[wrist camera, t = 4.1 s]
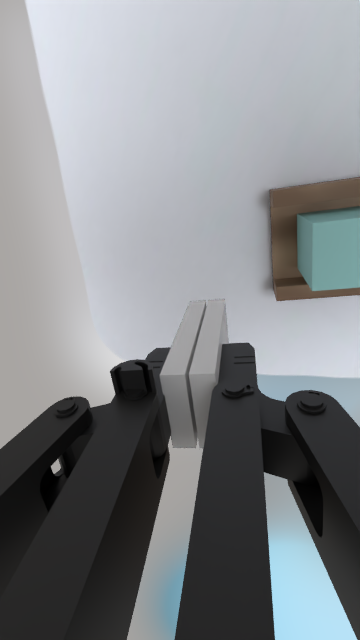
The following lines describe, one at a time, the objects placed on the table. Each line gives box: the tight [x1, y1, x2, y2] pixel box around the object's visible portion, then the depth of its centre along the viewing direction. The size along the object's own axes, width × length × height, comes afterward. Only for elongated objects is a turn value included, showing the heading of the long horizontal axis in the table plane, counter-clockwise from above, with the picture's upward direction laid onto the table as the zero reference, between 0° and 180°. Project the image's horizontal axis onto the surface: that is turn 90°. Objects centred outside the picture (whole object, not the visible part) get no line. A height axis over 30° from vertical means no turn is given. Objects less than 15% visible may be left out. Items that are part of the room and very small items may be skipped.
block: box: [297, 206, 360, 291], centre depth 28 cm, size 5×6×8 cm
